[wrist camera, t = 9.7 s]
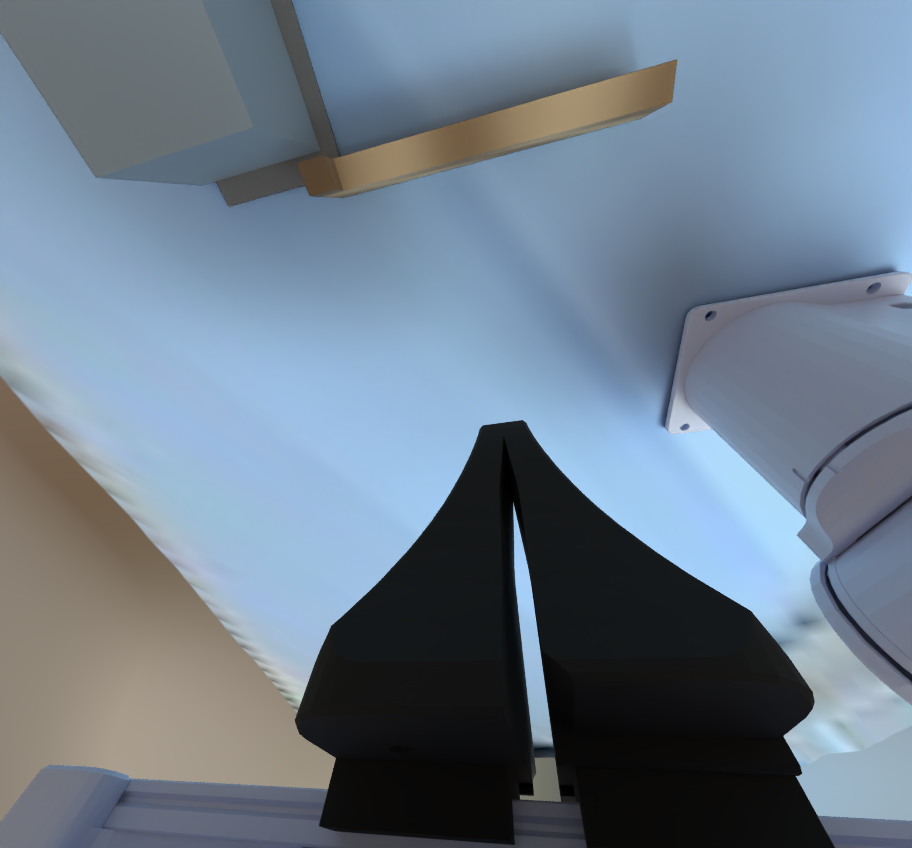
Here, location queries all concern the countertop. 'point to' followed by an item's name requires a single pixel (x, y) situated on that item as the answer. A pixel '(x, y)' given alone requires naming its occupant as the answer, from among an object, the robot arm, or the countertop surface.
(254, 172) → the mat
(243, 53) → the block
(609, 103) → the chute
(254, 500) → the countertop surface
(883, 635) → the robot arm
